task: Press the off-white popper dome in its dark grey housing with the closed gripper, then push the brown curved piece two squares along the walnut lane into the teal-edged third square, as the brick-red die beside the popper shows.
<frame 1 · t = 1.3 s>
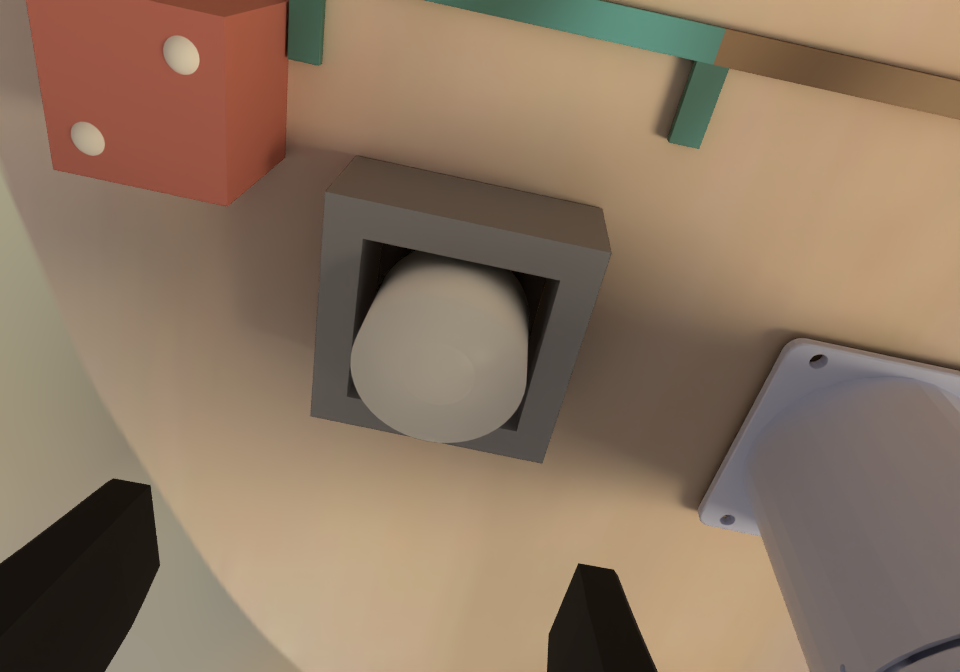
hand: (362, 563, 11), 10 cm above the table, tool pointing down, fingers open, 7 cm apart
die: (213, 66, 17), on the table
dome: (445, 345, 17), point 3 cm above the table, slide at 0.0 cm
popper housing: (458, 290, 20), on the table
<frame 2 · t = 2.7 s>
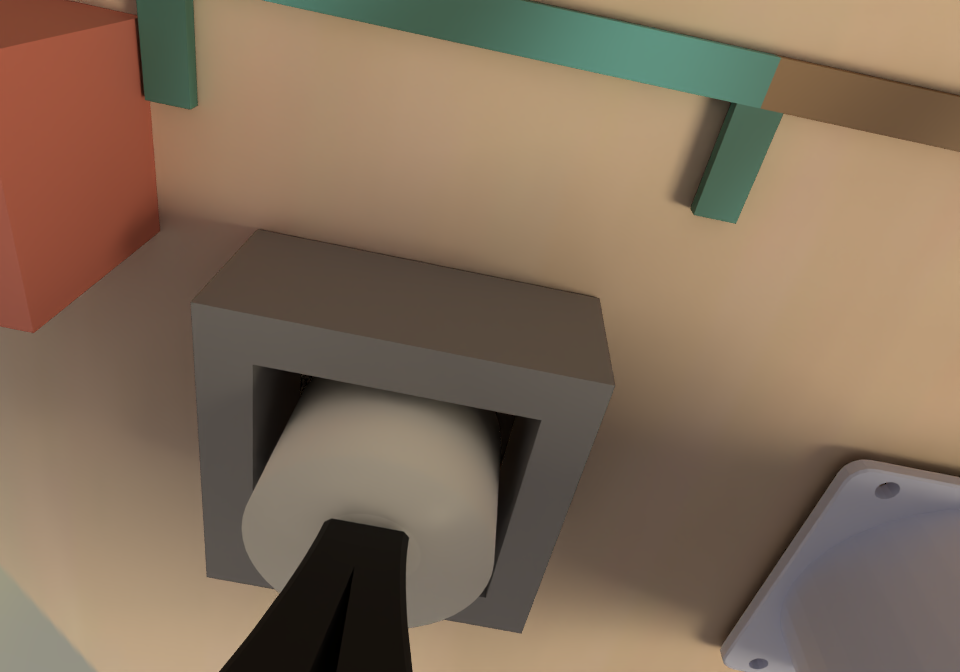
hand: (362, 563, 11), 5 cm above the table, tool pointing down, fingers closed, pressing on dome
die: (46, 109, 12), on the table
dome: (382, 494, 12), point 3 cm above the table, slide at -0.2 cm, touching gripper
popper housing: (408, 398, 15), on the table
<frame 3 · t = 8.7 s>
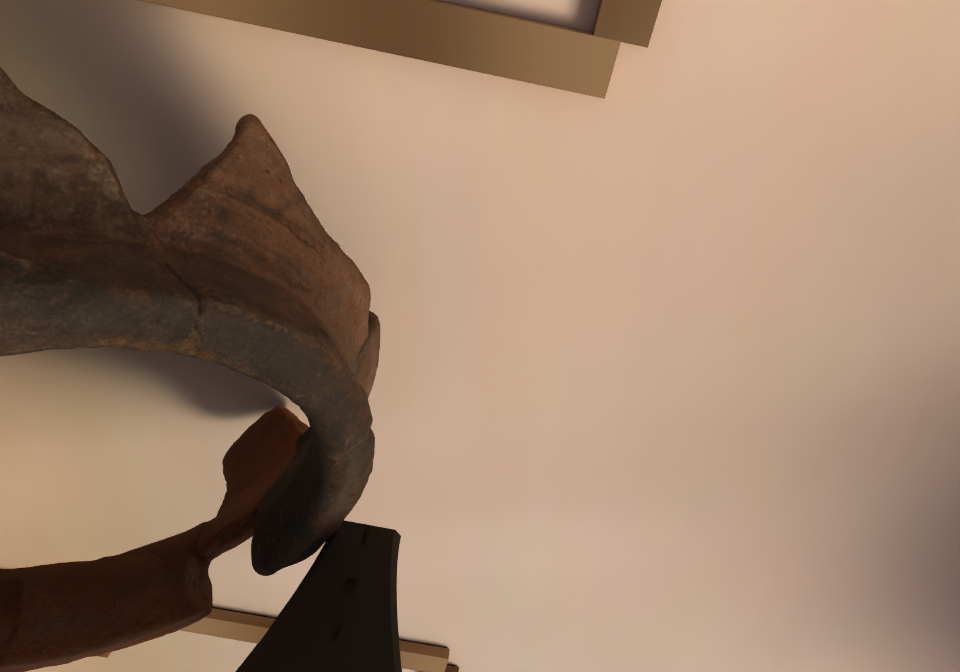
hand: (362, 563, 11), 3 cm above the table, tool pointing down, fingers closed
brown curved piece: (95, 263, 12), on the table, touching gripper
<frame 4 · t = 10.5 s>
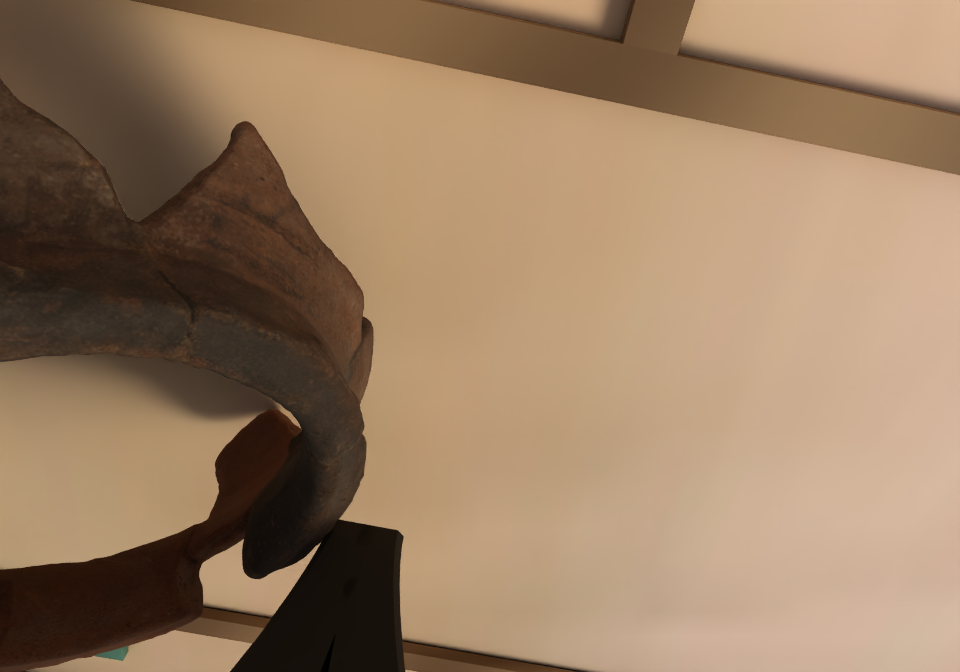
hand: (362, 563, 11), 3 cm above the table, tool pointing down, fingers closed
brown curved piece: (89, 264, 12), on the table, touching gripper
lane: (294, 412, 14), on the table
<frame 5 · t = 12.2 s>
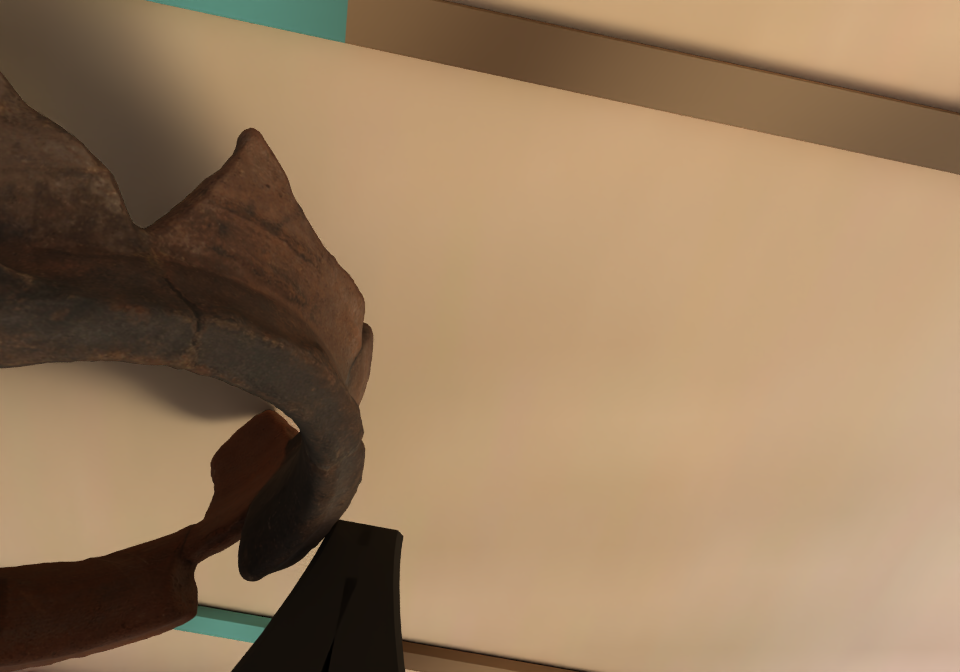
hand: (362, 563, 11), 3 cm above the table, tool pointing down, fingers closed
brown curved piece: (88, 262, 12), on the table, touching gripper
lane: (551, 460, 14), on the table
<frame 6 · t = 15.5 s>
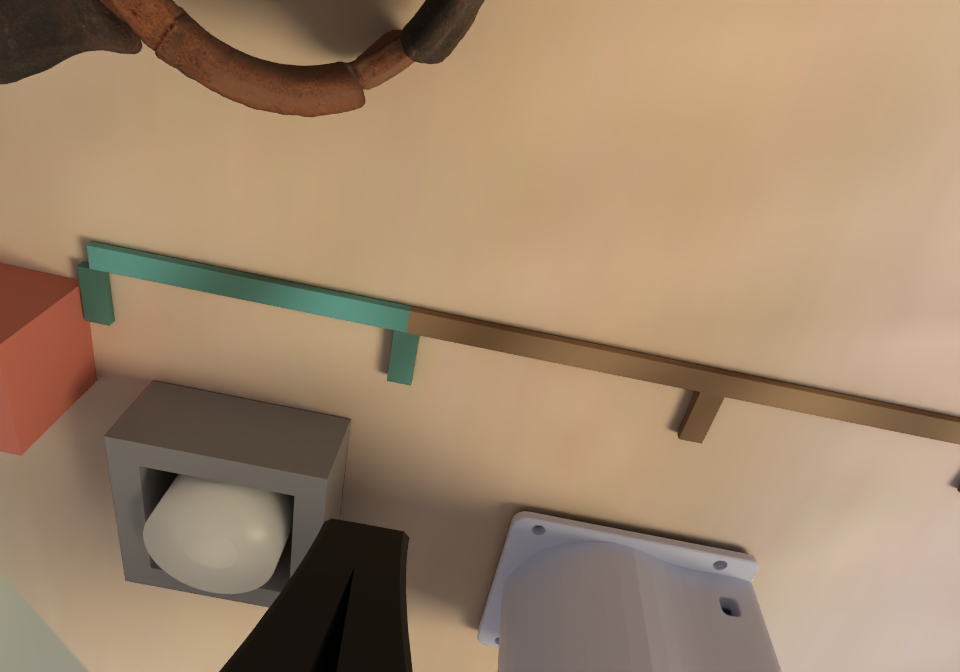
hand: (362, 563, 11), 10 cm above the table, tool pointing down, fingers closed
die: (32, 319, 22), on the table
dome: (226, 519, 23), point 2 cm above the table, slide at -0.8 cm
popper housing: (251, 472, 25), on the table
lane: (642, 94, 17), on the table
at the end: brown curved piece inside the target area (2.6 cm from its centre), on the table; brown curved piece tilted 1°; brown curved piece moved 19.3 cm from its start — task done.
